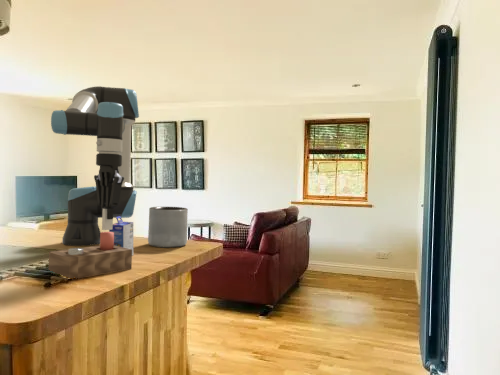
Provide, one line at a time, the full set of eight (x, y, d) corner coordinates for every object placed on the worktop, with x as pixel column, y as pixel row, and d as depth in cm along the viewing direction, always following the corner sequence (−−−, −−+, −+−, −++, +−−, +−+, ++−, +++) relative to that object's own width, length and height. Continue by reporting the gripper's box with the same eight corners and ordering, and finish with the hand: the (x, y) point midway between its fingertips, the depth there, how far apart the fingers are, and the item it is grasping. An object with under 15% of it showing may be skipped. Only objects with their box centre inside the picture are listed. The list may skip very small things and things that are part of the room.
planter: (140, 243, 172) (142, 207, 171) (173, 240, 182) (174, 206, 182) (160, 249, 160) (161, 210, 159) (194, 246, 171) (195, 209, 170)
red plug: (97, 250, 126) (97, 232, 126) (108, 248, 129) (109, 231, 129) (104, 252, 124) (104, 234, 123) (116, 250, 127) (116, 232, 127)
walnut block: (69, 280, 111) (69, 258, 111) (48, 272, 119) (48, 251, 118) (131, 268, 127) (132, 249, 127) (109, 262, 134) (110, 244, 134)
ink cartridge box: (118, 254, 147) (120, 214, 147) (133, 255, 147) (135, 215, 147) (107, 260, 137) (108, 217, 137) (123, 261, 137) (124, 218, 137)
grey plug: (65, 267, 118) (65, 249, 118) (78, 265, 122) (79, 247, 121) (72, 270, 116) (72, 251, 116) (85, 268, 119) (86, 249, 119)
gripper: (86, 152, 127) (84, 228, 127) (110, 152, 119) (108, 232, 119) (108, 154, 133) (106, 226, 133) (132, 154, 124) (130, 230, 125)
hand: (107, 229), depth 126 cm, fingers closed
